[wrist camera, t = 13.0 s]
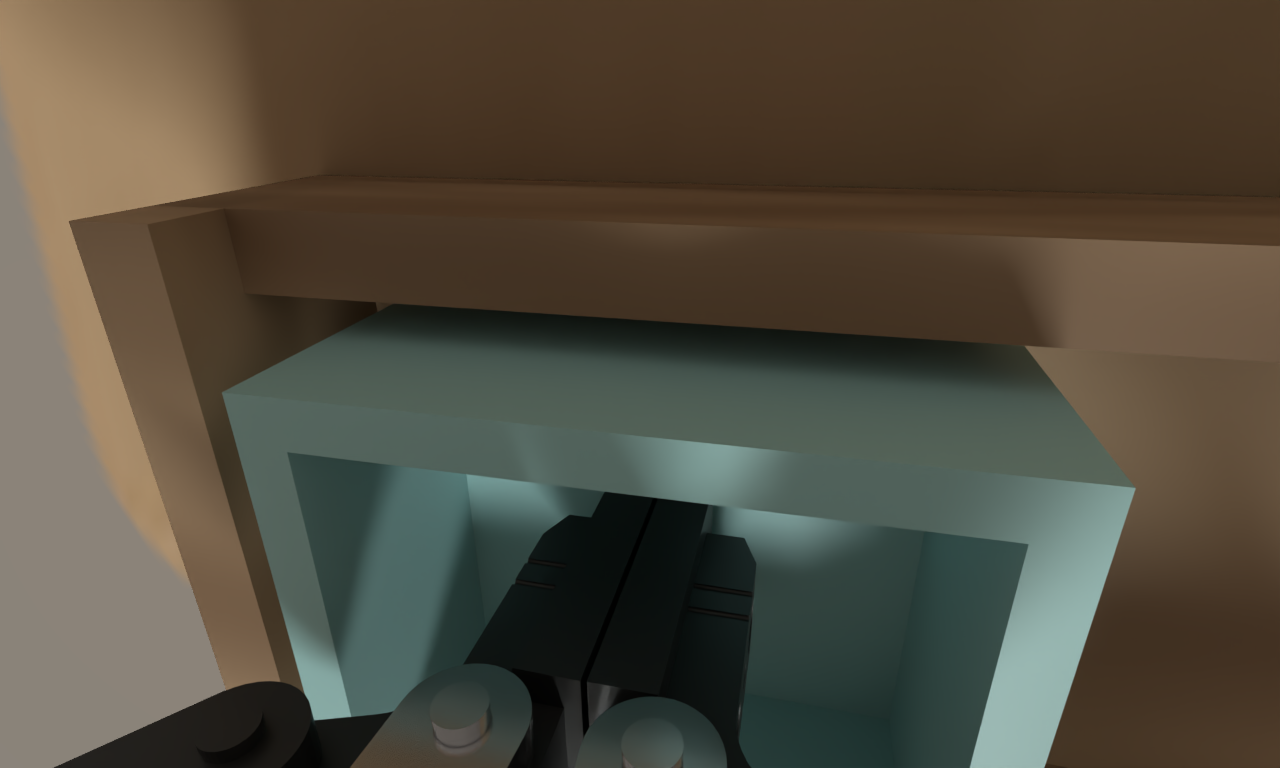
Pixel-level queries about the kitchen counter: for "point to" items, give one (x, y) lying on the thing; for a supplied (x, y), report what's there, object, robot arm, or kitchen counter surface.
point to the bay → (789, 300)
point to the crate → (708, 474)
